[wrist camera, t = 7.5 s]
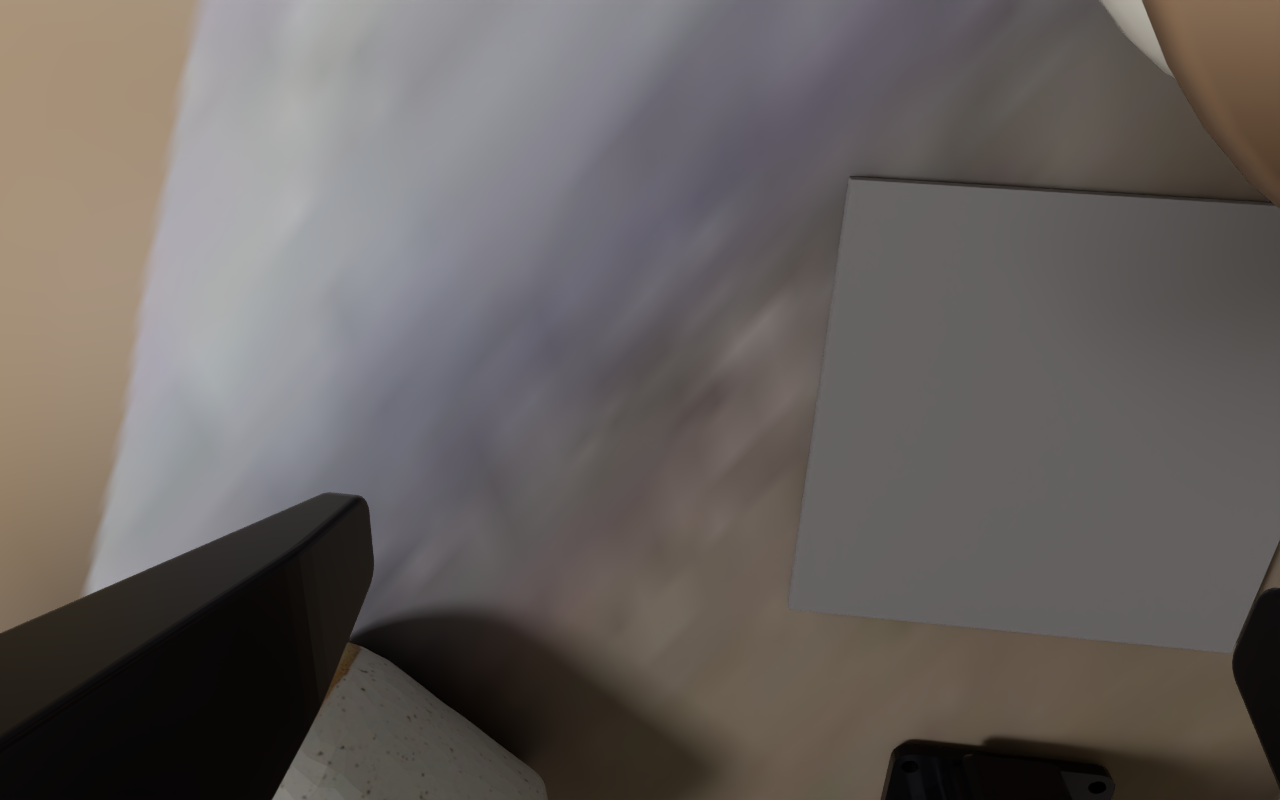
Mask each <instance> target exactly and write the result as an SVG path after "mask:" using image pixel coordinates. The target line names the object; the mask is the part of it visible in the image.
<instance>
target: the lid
mask: <svg viewBox="0 0 1280 800" xmlns="http://www.w3.org/2000/svg"><path fill="white" fill-rule="evenodd" d="M1142 2H1143V5H1144V7H1145V10H1146V12H1147V15H1148V17H1149V20H1150V23H1151V25H1152V28H1153V30H1154V33H1155V35H1156V38H1157V40H1158V43H1159V45H1160V48H1161V51H1162V53H1163V56H1164V58H1165V61H1166V63H1167V65H1168V67H1169V69H1170V71H1171V72H1172V74H1173V76H1174V77H1175V79H1176V81H1177V82H1178V84H1179V86H1180V88H1181V89H1182V91H1183V93H1184V94H1185V96H1186V98H1187V100H1188V101H1189V103H1190V105H1191V106H1192V108H1193V110H1194V112H1195V113H1196V115H1197V117H1198V118H1199V120H1200V122H1201V124H1202V125H1203V127H1204V128H1205V130H1206V131H1207V132H1208V133H1209V135H1210V136H1211V137H1212V138H1213V139H1214V141H1215V142H1216V143H1217V144H1218V145H1219V147H1220V148H1221V149H1222V150H1223V151H1224V153H1225V154H1226V155H1227V156H1228V157H1229V159H1230V160H1231V161H1232V162H1233V164H1234V165H1235V166H1236V167H1237V168H1238V170H1239V171H1240V172H1241V173H1242V174H1243V176H1244V177H1245V178H1246V179H1247V180H1248V182H1249V183H1250V184H1251V185H1253V186H1254V187H1255V188H1256V189H1257V190H1258V191H1260V192H1261V193H1262V194H1263V195H1264V196H1265V197H1266V198H1268V199H1269V200H1270V201H1271V202H1272V203H1273V204H1275V205H1276V206H1277V207H1278V208H1279V209H1280V0H1142Z"/></svg>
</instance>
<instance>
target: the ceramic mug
mask: <svg viewBox="0 0 1280 800" xmlns="http://www.w3.org/2000/svg"><path fill="white" fill-rule="evenodd" d="M272 800H548V798H547V792H546V787H545V784H544V782H543V780H542V778H541V777H540V775H539V774H537V773H536V772H535V771H534V770H533V769H532V768H530V767H529V766H528V765H526V764H525V763H524V762H522V761H521V760H520V759H518V758H517V757H516V756H514V755H513V754H511V753H510V752H509V751H507V750H506V749H505V748H503V747H502V746H501V745H499V744H498V743H497V742H496V741H494V740H493V739H492V738H490V737H489V736H488V735H487V734H485V733H484V732H483V731H481V730H480V729H479V728H478V727H476V726H475V725H474V724H472V723H471V722H470V721H468V720H467V719H466V718H465V717H463V716H462V715H460V714H459V713H457V712H456V711H455V710H453V709H452V708H450V707H449V706H447V705H446V704H444V703H443V702H442V701H440V700H439V699H438V698H437V697H435V696H434V695H433V694H432V693H430V692H429V691H428V690H427V689H425V688H424V687H423V686H422V685H420V684H419V683H418V682H416V681H415V680H414V679H412V678H411V677H410V676H409V675H407V674H406V673H405V672H403V671H402V670H401V669H399V668H398V667H397V666H395V665H394V664H393V663H391V662H390V661H389V660H387V659H385V658H383V657H381V656H379V655H377V654H375V653H373V652H371V651H369V650H368V649H366V648H364V647H362V646H359V645H356V644H353V643H350V642H348V643H347V645H346V647H345V650H344V652H343V655H342V657H341V660H340V662H339V665H338V667H337V670H336V672H335V675H334V677H333V680H332V682H331V685H330V687H329V690H328V692H327V694H326V697H325V699H324V701H323V704H322V706H321V708H320V710H319V712H318V714H317V716H316V718H315V720H314V722H313V724H312V726H311V728H310V730H309V732H308V734H307V736H306V738H305V740H304V741H303V743H302V745H301V747H300V749H299V751H298V753H297V755H296V756H295V758H294V760H293V762H292V764H291V766H290V768H289V769H288V771H287V773H286V775H285V777H284V779H283V781H282V783H281V784H280V786H279V788H278V790H277V792H276V794H275V796H274V797H273V799H272Z"/></svg>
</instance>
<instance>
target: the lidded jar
mask: <svg viewBox="0 0 1280 800" xmlns="http://www.w3.org/2000/svg"><path fill="white" fill-rule="evenodd" d="M1099 1H1100V2H1101V4H1102V5H1103V6H1104V8H1105V9H1106V11H1107V12H1108V13H1109V15H1110V16H1111V17H1112V19H1113V20H1114V22H1115V23H1116V24H1117V26H1118V27H1119V29H1120V30H1121V31H1122V32H1123V33H1124V34H1125V35H1126V36H1127V37H1128V38H1129V39H1130V40H1131V41H1132V42H1133V43H1134V44H1135V45H1136V46H1137V47H1138V48H1139V49H1140V50H1141V51H1142V52H1143V53H1144V54H1146V55H1147V56H1148V57H1149V58H1150V59H1151V60H1152V61H1153V62H1154V63H1155V64H1156V65H1157V66H1158V67H1159V68H1160V69H1162V70H1163V71H1164V72H1165V73H1166V74H1168V75H1170V76H1171V77H1173V78H1174V79H1175V77H1174V76H1173V74H1172V72H1171V71H1170V69H1169V67H1168V65H1167V63H1166V61H1165V58H1164V56H1163V53H1162V51H1161V48H1160V45H1159V43H1158V40H1157V38H1156V35H1155V33H1154V30H1153V28H1152V25H1151V23H1150V20H1149V17H1148V15H1147V12H1146V10H1145V7H1144V5H1143V2H1142V0H1099Z"/></svg>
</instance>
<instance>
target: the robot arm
mask: <svg viewBox="0 0 1280 800" xmlns="http://www.w3.org/2000/svg"><path fill="white" fill-rule="evenodd" d="M373 571H374V556H373V546H372V535H371V525H370V514H369V507H368V505H367V502H366V500H365V499H364V498H363V497H362V496H359V495H351V494H341V493H331V492H329V493H323V494H320V495H318V496H316V497H313V498H311V499H309V500H307V501H304V502H302V503H300V504H297V505H295V506H293V507H290V508H288V509H286V510H283V511H281V512H279V513H277V514H274V515H272V516H270V517H267V518H265V519H263V520H260V521H258V522H256V523H253V524H251V525H249V526H247V527H244V528H242V529H240V530H237V531H235V532H233V533H230V534H228V535H226V536H223V537H221V538H219V539H217V540H214V541H212V542H210V543H207V544H205V545H203V546H200V547H198V548H196V549H194V550H191V551H189V552H187V553H184V554H182V555H180V556H177V557H175V558H173V559H170V560H168V561H166V562H164V563H161V564H159V565H157V566H154V567H152V568H150V569H147V570H145V571H143V572H140V573H138V574H136V575H134V576H131V577H129V578H127V579H124V580H122V581H120V582H117V583H115V584H113V585H110V586H108V587H106V588H104V589H101V590H99V591H97V592H94V593H92V594H90V595H87V596H85V597H83V598H80V599H78V600H76V601H74V602H71V603H69V604H67V605H64V606H62V607H60V608H57V609H55V610H53V611H50V612H48V613H46V614H44V615H41V616H39V617H37V618H34V619H32V620H30V621H27V622H25V623H23V624H21V625H18V626H16V627H14V628H11V629H9V630H7V631H4V632H2V633H0V800H272V799H273V797H274V796H275V794H276V792H277V790H278V788H279V786H280V784H281V783H282V781H283V779H284V777H285V775H286V773H287V771H288V769H289V768H290V766H291V764H292V762H293V760H294V758H295V756H296V755H297V753H298V751H299V749H300V747H301V745H302V743H303V741H304V740H305V738H306V736H307V734H308V732H309V730H310V728H311V726H312V724H313V722H314V720H315V718H316V716H317V714H318V712H319V710H320V708H321V706H322V704H323V701H324V699H325V697H326V694H327V692H328V690H329V687H330V685H331V682H332V680H333V677H334V675H335V672H336V670H337V667H338V665H339V662H340V660H341V657H342V655H343V652H344V650H345V647H346V645H347V642H348V640H349V637H350V635H351V632H352V630H353V627H354V625H355V622H356V620H357V617H358V615H359V612H360V610H361V607H362V604H363V602H364V599H365V597H366V594H367V592H368V589H369V587H370V584H371V581H372V577H373ZM1232 668H1233V674H1234V678H1235V681H1236V684H1237V686H1238V689H1239V691H1240V693H1241V696H1242V698H1243V701H1244V703H1245V706H1246V708H1247V711H1248V713H1249V715H1250V718H1251V720H1252V723H1253V725H1254V728H1255V730H1256V733H1257V735H1258V737H1259V740H1260V742H1261V745H1262V747H1263V750H1264V752H1265V754H1266V757H1267V759H1268V762H1269V764H1270V767H1271V769H1272V772H1273V774H1274V776H1275V779H1276V781H1277V784H1278V786H1279V789H1280V588H1271V589H1268V590H1266V591H1264V592H1263V593H1262V594H1261V595H1260V596H1259V597H1258V599H1257V600H1256V603H1255V605H1254V607H1253V609H1252V612H1251V614H1250V616H1249V619H1248V621H1247V623H1246V625H1245V628H1244V630H1243V632H1242V635H1241V637H1240V639H1239V641H1238V644H1237V646H1236V648H1235V651H1234V654H1233V661H1232ZM911 760H912V762H906V761H911ZM1093 782H1095V783H1093ZM1114 790H1115V784H1114V782H1113V780H1112V778H1111V776H1110V774H1109V772H1108V770H1107V769H1106V768H1104V767H1103V766H1099V765H1094V764H1085V763H1076V762H1067V761H1058V760H1049V759H1040V758H1030V757H1021V756H1012V755H1003V754H994V753H985V752H976V751H967V750H958V749H949V748H940V747H930V746H921V745H912V744H904V745H901V746H898V747H897V748H895V749H894V750H893V752H892V753H891V757H890V761H889V765H888V770H887V774H886V779H885V783H884V787H883V792H882V796H881V800H1111V798H1112V795H1113V792H1114Z"/></svg>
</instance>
